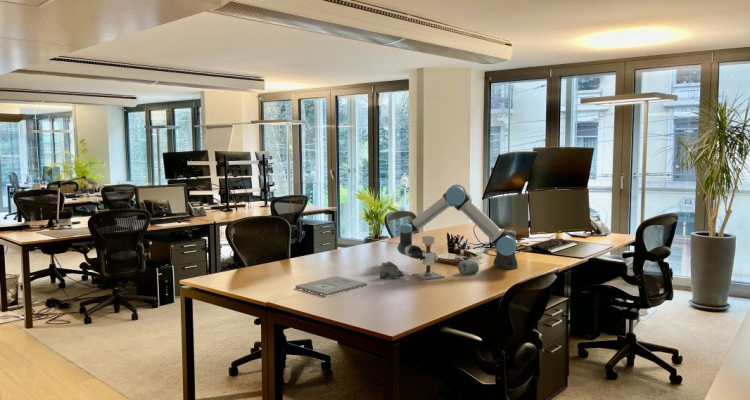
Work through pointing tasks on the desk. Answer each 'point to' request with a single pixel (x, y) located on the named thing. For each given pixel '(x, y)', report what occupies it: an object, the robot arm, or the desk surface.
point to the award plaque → (331, 285)
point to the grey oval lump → (468, 267)
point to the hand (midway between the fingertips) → (432, 258)
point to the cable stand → (428, 275)
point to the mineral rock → (390, 271)
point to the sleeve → (431, 258)
